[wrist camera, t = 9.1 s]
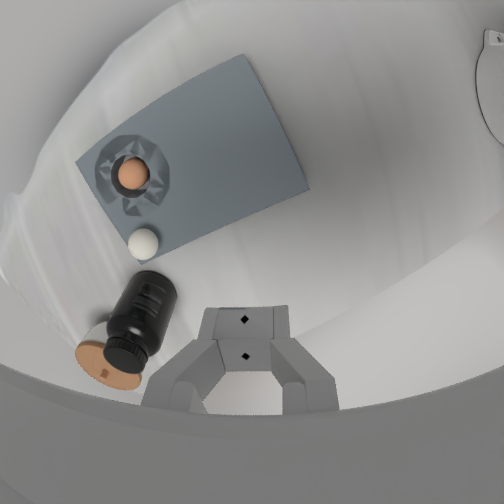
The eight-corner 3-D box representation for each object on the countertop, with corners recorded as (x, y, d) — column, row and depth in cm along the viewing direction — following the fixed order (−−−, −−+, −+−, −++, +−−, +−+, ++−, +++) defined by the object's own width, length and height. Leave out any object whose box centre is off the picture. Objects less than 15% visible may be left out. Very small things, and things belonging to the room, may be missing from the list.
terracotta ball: (139, 154, 24) (116, 155, 25) (131, 186, 24) (109, 185, 25) (157, 163, 27) (134, 162, 28) (150, 192, 27) (128, 191, 28)
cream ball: (151, 218, 27) (140, 232, 24) (167, 243, 29) (158, 259, 26) (129, 230, 28) (117, 245, 25) (145, 254, 29) (135, 270, 27)
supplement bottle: (120, 280, 35) (82, 345, 24) (157, 262, 33) (121, 332, 23) (150, 315, 38) (123, 382, 27) (187, 302, 36) (165, 375, 26)
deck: (245, 57, 21) (243, 53, 19) (305, 182, 28) (309, 189, 25) (87, 156, 26) (75, 162, 24) (148, 253, 32) (141, 264, 30)
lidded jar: (131, 304, 37) (107, 353, 29) (164, 352, 42) (150, 400, 34) (83, 312, 38) (57, 354, 30) (116, 356, 44) (99, 397, 35)
